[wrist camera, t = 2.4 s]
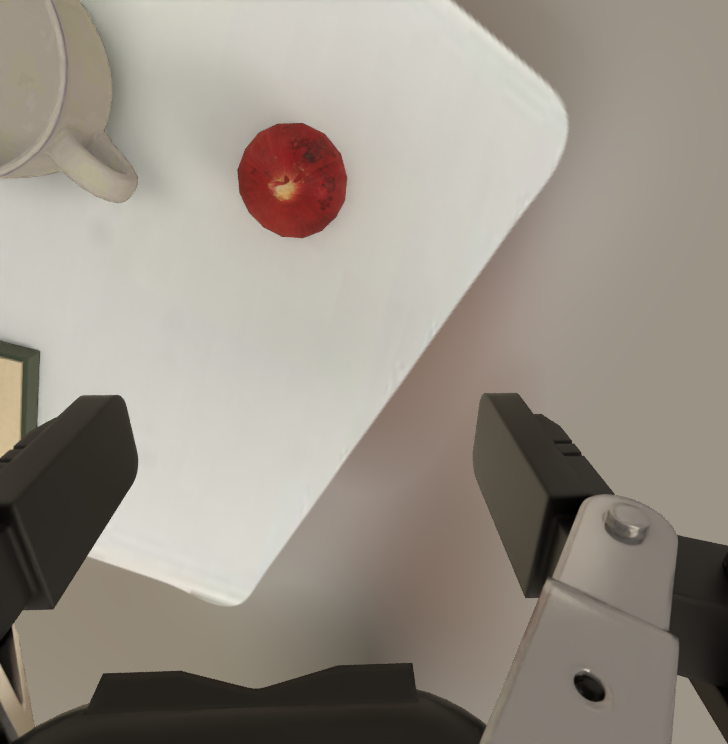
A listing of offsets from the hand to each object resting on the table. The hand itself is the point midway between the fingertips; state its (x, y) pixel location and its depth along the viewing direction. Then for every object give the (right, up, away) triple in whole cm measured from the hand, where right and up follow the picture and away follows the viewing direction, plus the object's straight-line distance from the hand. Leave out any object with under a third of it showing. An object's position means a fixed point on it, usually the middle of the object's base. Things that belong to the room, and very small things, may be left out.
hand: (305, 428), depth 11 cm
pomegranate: (-3, +13, +18) cm, 23 cm away
